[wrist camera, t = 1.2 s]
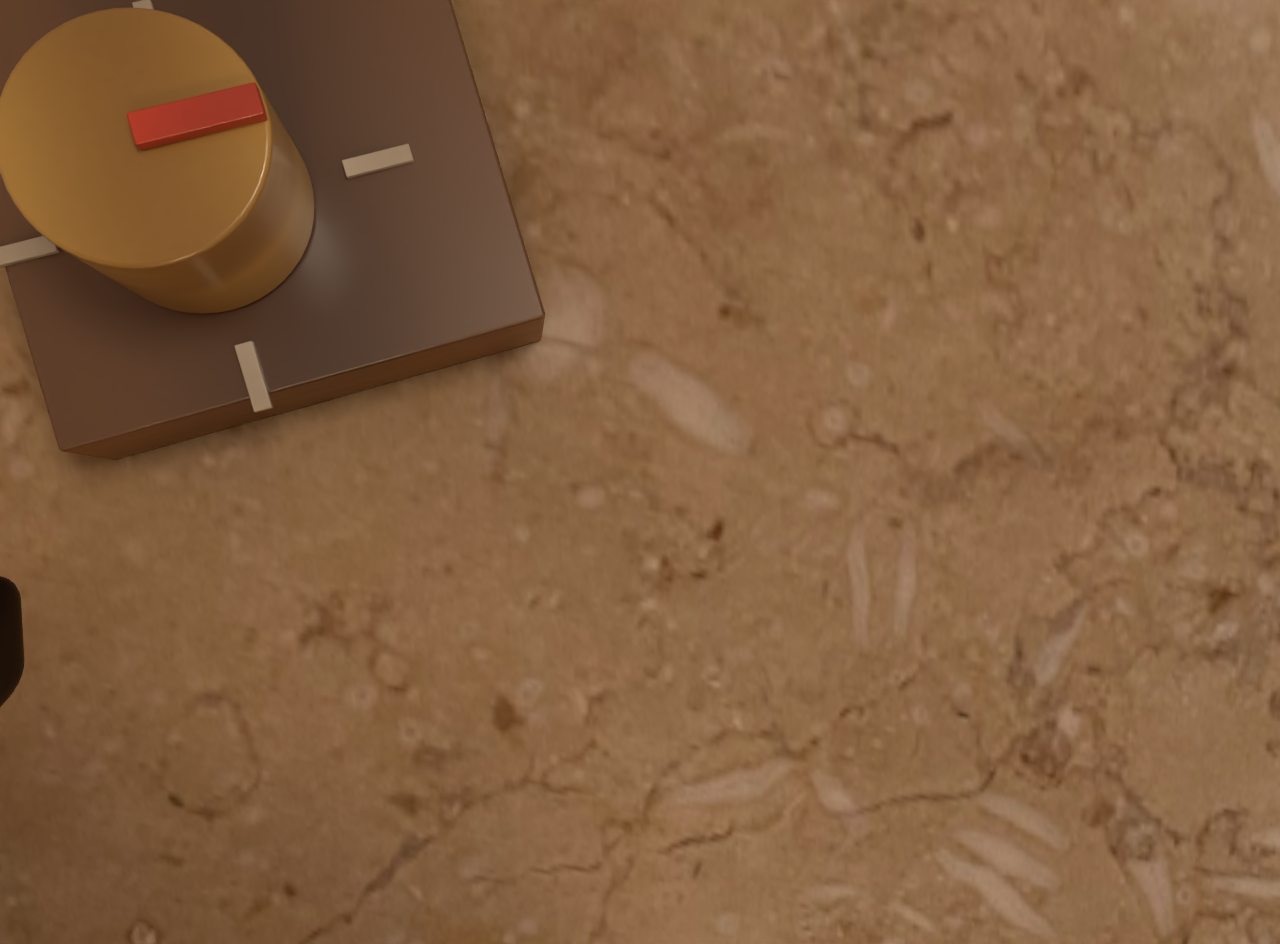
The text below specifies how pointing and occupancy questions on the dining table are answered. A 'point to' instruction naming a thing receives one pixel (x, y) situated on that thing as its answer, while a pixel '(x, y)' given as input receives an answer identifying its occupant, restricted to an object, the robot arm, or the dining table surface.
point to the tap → (155, 160)
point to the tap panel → (336, 251)
